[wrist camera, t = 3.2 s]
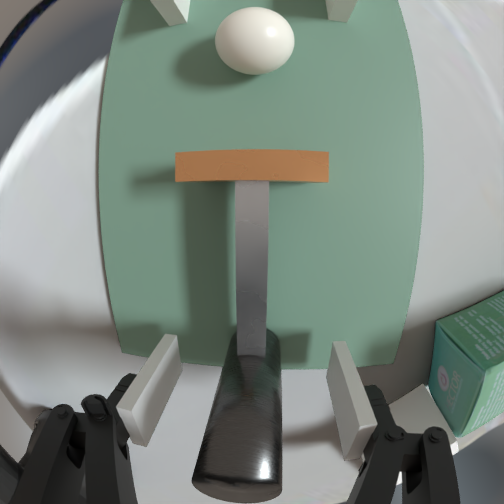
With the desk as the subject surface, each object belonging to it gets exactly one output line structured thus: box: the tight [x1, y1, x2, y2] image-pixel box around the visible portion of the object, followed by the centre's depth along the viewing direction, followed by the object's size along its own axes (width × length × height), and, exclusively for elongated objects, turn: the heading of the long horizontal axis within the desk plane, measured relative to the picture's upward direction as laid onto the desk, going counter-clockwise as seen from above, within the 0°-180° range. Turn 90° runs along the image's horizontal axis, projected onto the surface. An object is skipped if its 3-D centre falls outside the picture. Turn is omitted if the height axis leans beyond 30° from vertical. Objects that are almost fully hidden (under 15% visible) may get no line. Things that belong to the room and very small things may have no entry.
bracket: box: [361, 384, 458, 485], centre depth 16 cm, size 13×7×8 cm, turn 35°
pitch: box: [99, 0, 424, 369], centre depth 13 cm, size 20×28×4 cm
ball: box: [215, 7, 294, 75], centre depth 11 cm, size 4×4×4 cm
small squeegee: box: [175, 149, 329, 503], centre depth 10 cm, size 6×13×10 cm, turn 0°
